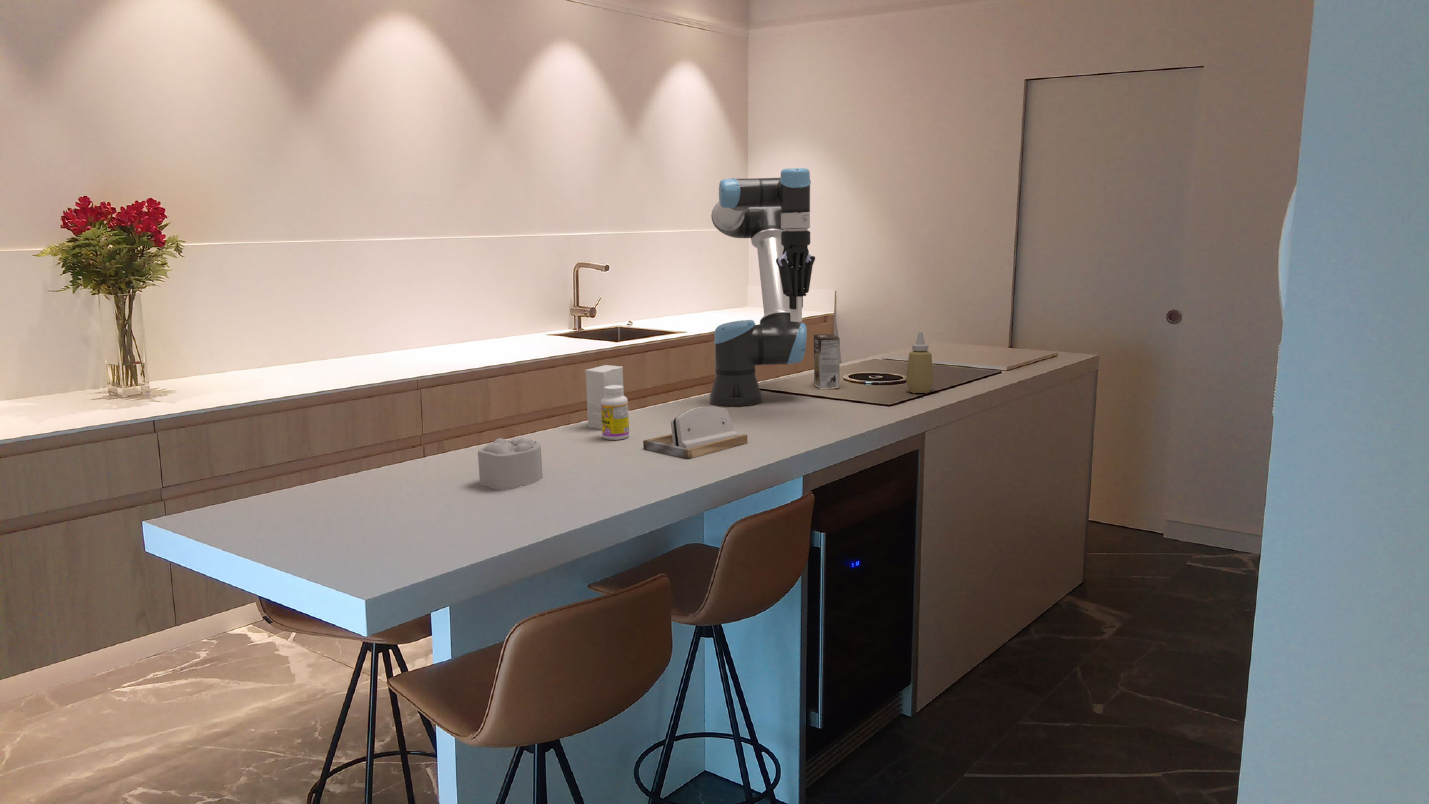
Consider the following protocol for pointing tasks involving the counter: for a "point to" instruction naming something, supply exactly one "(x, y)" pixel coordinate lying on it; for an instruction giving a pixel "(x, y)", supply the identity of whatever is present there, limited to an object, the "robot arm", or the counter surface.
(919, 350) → the squeeze bottle
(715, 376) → the robot arm
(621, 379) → the skincare box
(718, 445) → the frame
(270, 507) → the counter surface
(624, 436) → the supplement bottle
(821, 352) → the coffee box
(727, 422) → the grey piece
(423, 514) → the counter surface
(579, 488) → the counter surface
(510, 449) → the lumpy-topped squat cylinder
